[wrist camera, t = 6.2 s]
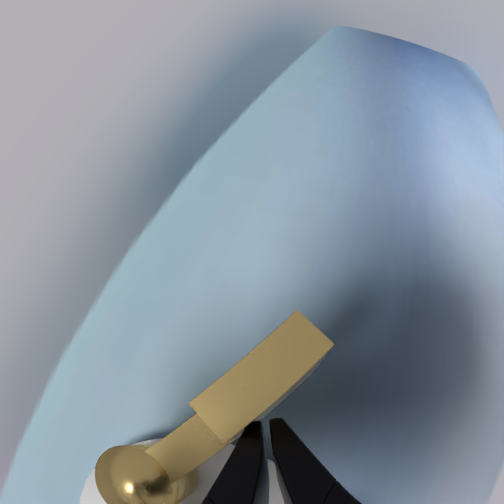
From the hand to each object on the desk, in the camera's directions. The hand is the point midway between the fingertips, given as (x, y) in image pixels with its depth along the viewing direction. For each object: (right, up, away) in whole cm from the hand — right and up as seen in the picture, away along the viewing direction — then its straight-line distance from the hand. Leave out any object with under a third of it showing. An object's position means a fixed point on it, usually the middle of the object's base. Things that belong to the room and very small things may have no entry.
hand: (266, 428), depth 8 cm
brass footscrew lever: (-2, -3, +4) cm, 6 cm away
